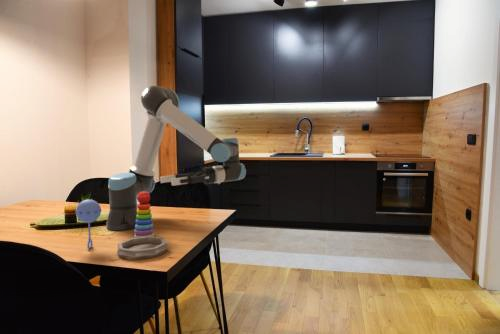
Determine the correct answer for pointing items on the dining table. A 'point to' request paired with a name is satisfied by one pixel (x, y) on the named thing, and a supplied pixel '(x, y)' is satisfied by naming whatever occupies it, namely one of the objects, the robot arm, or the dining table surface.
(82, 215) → the baby rattle
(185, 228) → the dining table surface
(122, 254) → the plate
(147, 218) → the stacking toy
